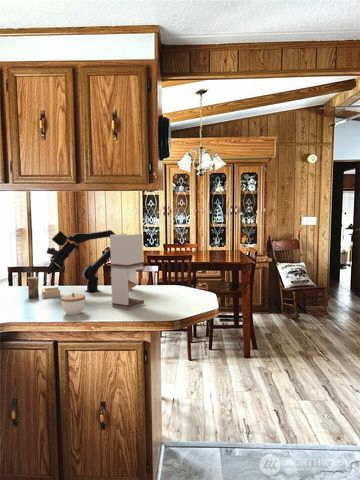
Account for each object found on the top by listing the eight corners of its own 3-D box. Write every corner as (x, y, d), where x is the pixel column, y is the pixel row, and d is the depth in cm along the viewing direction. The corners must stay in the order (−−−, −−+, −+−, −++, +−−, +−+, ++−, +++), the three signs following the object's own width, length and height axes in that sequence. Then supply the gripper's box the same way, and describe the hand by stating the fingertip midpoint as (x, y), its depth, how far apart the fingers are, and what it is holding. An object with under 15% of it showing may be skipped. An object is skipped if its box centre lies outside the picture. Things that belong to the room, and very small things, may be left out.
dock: (60, 292, 213) (60, 286, 213) (63, 296, 202) (62, 290, 202) (41, 294, 209) (40, 288, 208) (42, 298, 198) (42, 292, 197)
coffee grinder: (129, 309, 172) (127, 235, 169) (112, 307, 177) (109, 234, 175) (144, 304, 181) (142, 233, 179) (127, 301, 187) (125, 233, 184)
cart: (38, 295, 205) (37, 276, 205) (39, 298, 200) (38, 278, 199) (28, 296, 203) (27, 277, 202) (28, 299, 198) (27, 279, 197)
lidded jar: (76, 309, 175) (76, 289, 174) (90, 312, 168) (89, 292, 167) (56, 314, 166) (55, 293, 166) (70, 318, 160) (69, 296, 159)
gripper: (53, 241, 213) (34, 261, 210) (55, 243, 196) (35, 265, 193) (68, 253, 217) (50, 273, 214) (72, 256, 200) (52, 278, 196)
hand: (47, 272), depth 204 cm, fingers open, 9 cm apart
